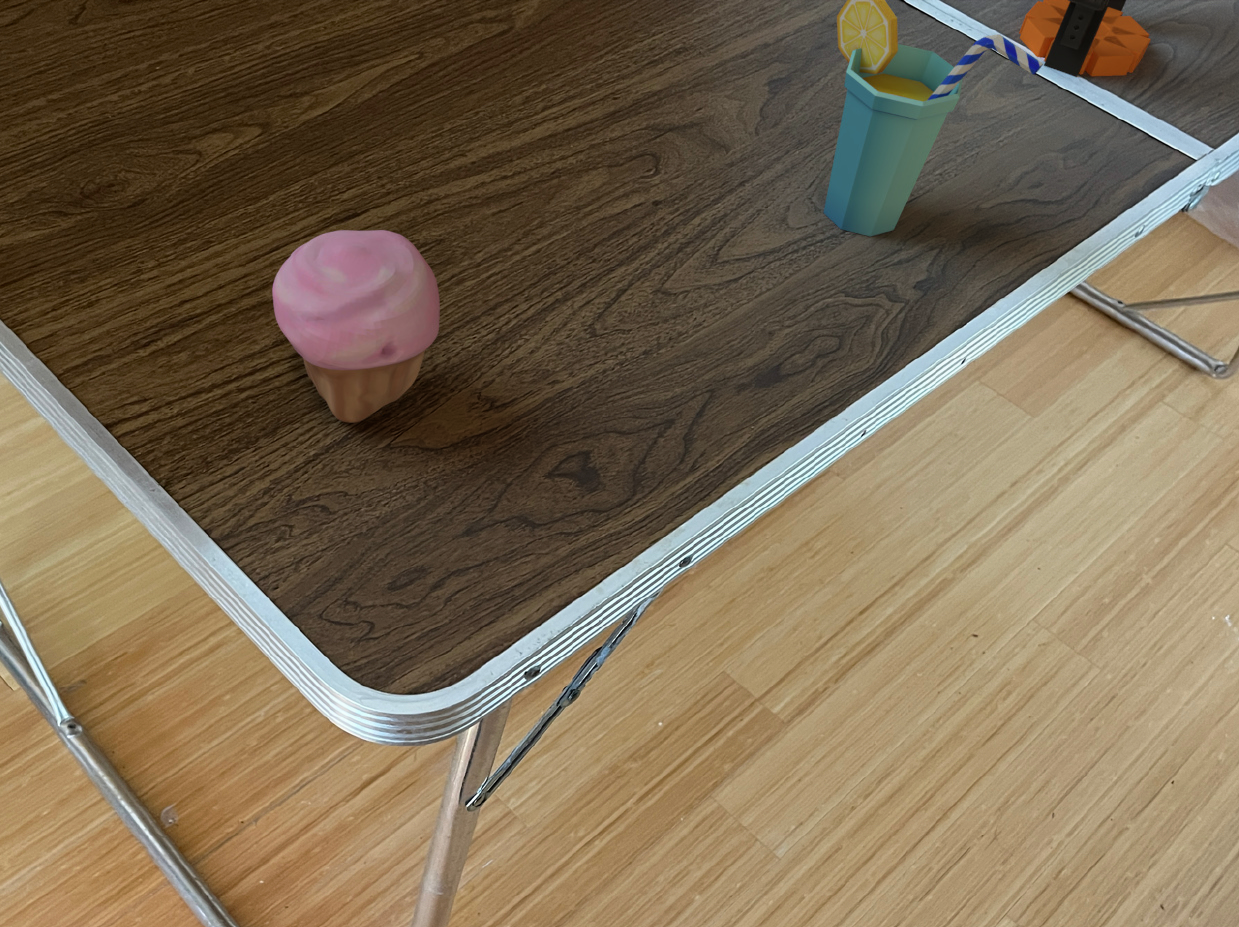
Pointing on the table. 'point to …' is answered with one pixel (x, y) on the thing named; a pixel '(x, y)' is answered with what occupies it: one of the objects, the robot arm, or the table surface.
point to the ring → (1110, 49)
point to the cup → (891, 114)
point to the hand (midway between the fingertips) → (1075, 56)
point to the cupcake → (358, 316)
